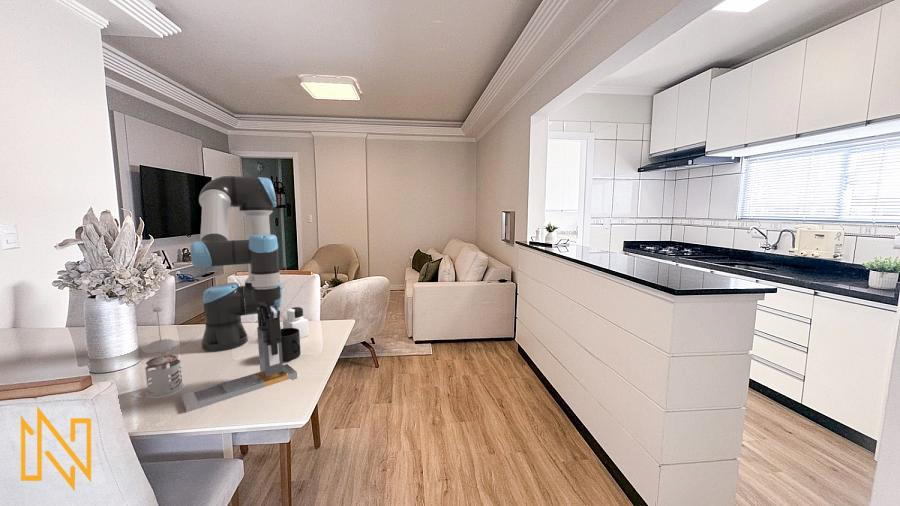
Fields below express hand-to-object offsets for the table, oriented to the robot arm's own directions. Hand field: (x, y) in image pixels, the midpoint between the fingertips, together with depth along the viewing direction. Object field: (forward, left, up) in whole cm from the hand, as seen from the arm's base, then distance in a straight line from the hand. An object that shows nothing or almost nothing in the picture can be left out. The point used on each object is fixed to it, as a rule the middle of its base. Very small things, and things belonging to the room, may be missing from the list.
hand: (271, 361), depth 108 cm
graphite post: (0, 0, -3) cm, 3 cm away
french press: (-15, -24, -6) cm, 29 cm away
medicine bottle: (-33, +20, -6) cm, 39 cm away
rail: (0, -8, -6) cm, 10 cm away
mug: (-14, +10, -6) cm, 18 cm away
